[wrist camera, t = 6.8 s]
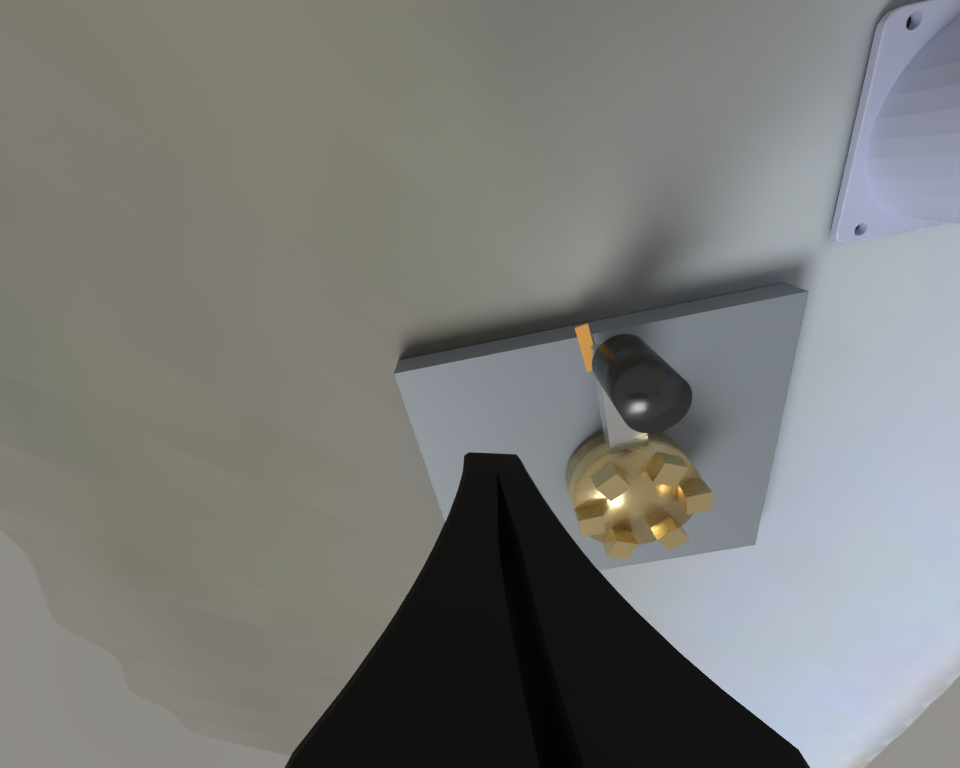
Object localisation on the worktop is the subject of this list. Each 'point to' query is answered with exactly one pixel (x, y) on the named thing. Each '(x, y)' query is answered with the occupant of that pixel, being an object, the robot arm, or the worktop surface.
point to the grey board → (576, 413)
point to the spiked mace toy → (635, 454)
